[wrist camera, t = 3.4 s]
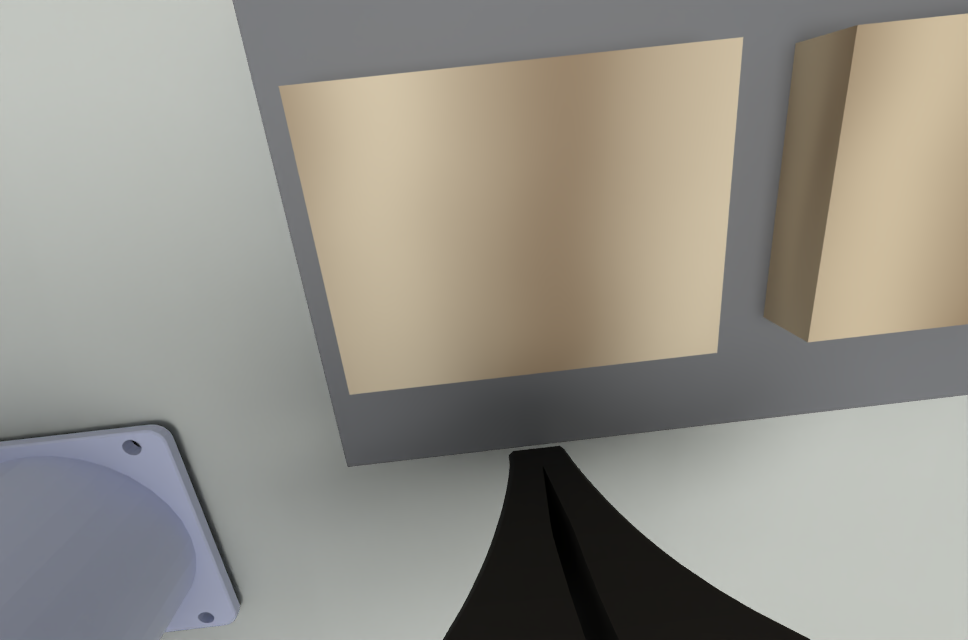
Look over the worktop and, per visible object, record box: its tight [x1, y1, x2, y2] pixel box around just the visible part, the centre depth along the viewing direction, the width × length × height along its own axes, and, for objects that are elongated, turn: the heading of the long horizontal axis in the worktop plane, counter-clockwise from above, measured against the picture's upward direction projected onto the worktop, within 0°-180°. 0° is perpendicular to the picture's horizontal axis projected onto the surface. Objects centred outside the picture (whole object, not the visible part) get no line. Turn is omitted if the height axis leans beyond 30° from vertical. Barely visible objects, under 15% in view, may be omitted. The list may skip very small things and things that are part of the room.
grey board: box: [233, 0, 968, 467], centre depth 12 cm, size 20×11×2 cm, turn 96°
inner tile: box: [279, 37, 743, 395], centre depth 10 cm, size 8×6×2 cm
